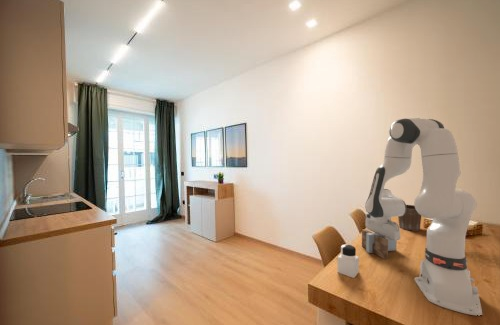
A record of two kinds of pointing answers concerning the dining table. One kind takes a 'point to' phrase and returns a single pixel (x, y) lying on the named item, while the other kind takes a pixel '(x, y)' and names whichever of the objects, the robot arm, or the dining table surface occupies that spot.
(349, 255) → the medicine bottle
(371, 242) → the light blue notched panel
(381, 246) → the walnut board
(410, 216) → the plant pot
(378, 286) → the dining table surface
